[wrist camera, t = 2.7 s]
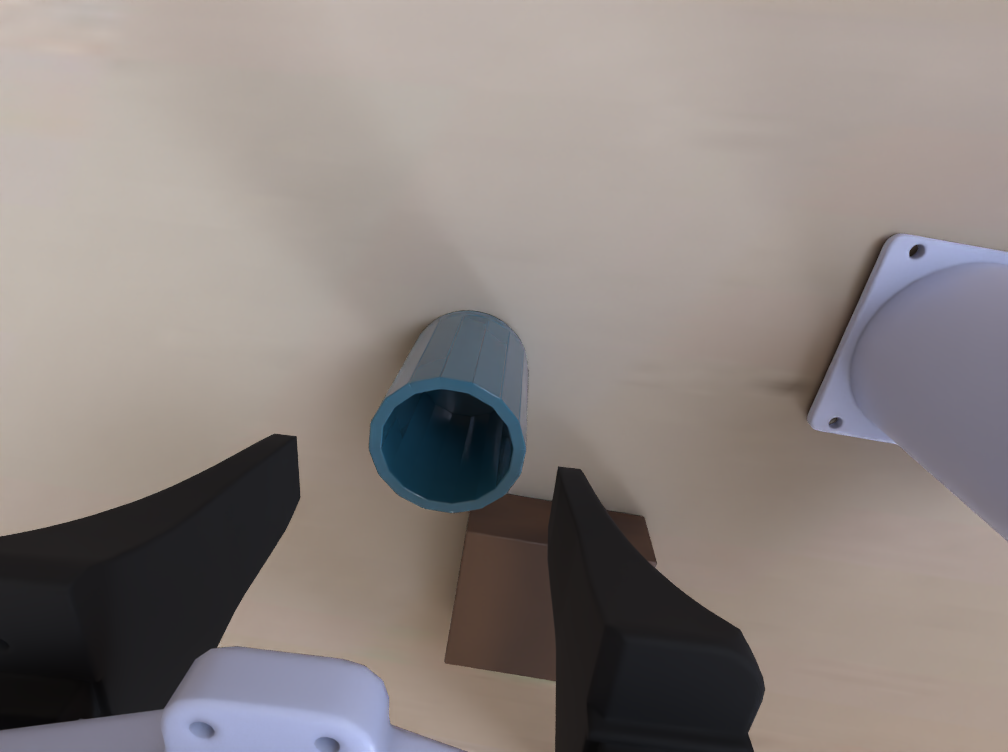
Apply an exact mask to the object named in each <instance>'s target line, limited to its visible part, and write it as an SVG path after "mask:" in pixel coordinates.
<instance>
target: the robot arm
mask: <svg viewBox="0 0 1008 752" xmlns="http://www.w3.org/2000/svg"><path fill="white" fill-rule="evenodd" d="M915 245H918V251H917V252H916V253H915V254H914V255H913V256H911V257H910V256H909V251H910V249H911V248H912V247H913V246H915ZM835 417H838V419H837V420H836V422H834V423H832V424H829V421H830V420H831V419H833V418H835ZM807 421H808V423H809V424H810V425H811V427H812V428H813V429H815V430H818V431H823V432H828V433H834V434H840V435H846V436H852V437H858V438H864V439H869V440H875V441H881V442H887V443H893V444H898V445H899V446H900V447H901V448H902V449H903V450H904V451H906V452H907V453H908V454H909V455H910V456H911V457H912V458H913V459H915V460H916V461H917V462H918V463H919V464H920V465H921V466H923V467H924V468H925V469H926V470H927V471H928V472H929V473H930V474H932V475H933V476H934V477H935V478H936V479H937V480H938V481H940V482H941V483H942V484H943V485H944V486H945V487H946V488H947V489H949V490H950V491H951V492H952V493H953V494H954V495H955V496H957V497H958V498H959V499H960V500H961V501H962V502H963V503H965V504H966V505H967V506H968V507H969V508H970V509H971V510H972V511H974V512H975V513H976V514H977V515H978V516H979V517H980V518H982V519H983V520H984V521H985V522H986V523H987V524H988V525H989V526H991V527H992V528H993V529H994V530H995V531H996V532H997V533H999V534H1000V535H1001V536H1002V537H1003V538H1004V539H1005V540H1006V541H1008V252H1006V251H1001V250H995V249H990V248H984V247H978V246H973V245H967V244H961V243H956V242H950V241H944V240H939V239H933V238H928V237H922V236H916V235H911V234H905V233H898V234H895V235H893V236H891V237H890V238H889V239H888V240H887V241H886V242H885V244H884V246H883V248H882V250H881V252H880V255H879V257H878V259H877V261H876V263H875V266H874V268H873V270H872V272H871V275H870V277H869V279H868V281H867V284H866V286H865V288H864V290H863V293H862V295H861V297H860V299H859V301H858V304H857V306H856V308H855V310H854V313H853V315H852V317H851V319H850V322H849V324H848V326H847V328H846V330H845V333H844V335H843V337H842V339H841V342H840V344H839V346H838V348H837V351H836V353H835V355H834V357H833V359H832V362H831V364H830V366H829V368H828V371H827V373H826V375H825V377H824V380H823V382H822V384H821V386H820V389H819V391H818V393H817V395H816V397H815V400H814V402H813V404H812V406H811V409H810V411H809V413H808V416H807ZM299 500H300V483H299V467H298V451H297V436H290V435H281V434H273V435H271V436H269V437H267V438H265V439H263V440H261V441H259V442H257V443H255V444H253V445H252V446H250V447H248V448H246V449H244V450H242V451H241V452H239V453H237V454H235V455H233V456H231V457H230V458H228V459H226V460H224V461H222V462H220V463H219V464H217V465H215V466H213V467H211V468H209V469H207V470H205V471H203V472H201V473H199V474H197V475H195V476H193V477H191V478H189V479H187V480H185V481H182V482H180V483H178V484H176V485H174V486H172V487H169V488H167V489H165V490H162V491H160V492H158V493H155V494H153V495H150V496H147V497H145V498H142V499H140V500H137V501H134V502H132V503H129V504H126V505H123V506H120V507H117V508H113V509H110V510H107V511H104V512H101V513H98V514H95V515H92V516H88V517H85V518H81V519H77V520H74V521H70V522H66V523H62V524H58V525H54V526H50V527H46V528H41V529H37V530H32V531H27V532H22V533H17V534H12V535H6V536H1V537H0V752H467V751H464V750H461V749H458V748H455V747H453V746H450V745H447V744H444V743H441V742H439V741H436V740H433V739H430V738H427V737H425V736H422V735H419V734H416V733H413V732H411V731H408V730H405V729H402V728H399V727H397V726H394V725H391V724H390V719H389V696H388V693H387V690H386V688H385V685H384V682H383V681H382V679H381V678H380V677H378V676H377V675H376V674H375V673H373V672H372V671H371V670H370V669H368V668H367V667H366V666H365V665H362V664H358V663H355V662H352V661H348V660H345V659H340V658H332V657H323V656H315V655H306V654H298V653H290V652H281V651H273V650H264V649H256V648H247V647H239V646H235V647H222V648H217V646H218V644H219V642H220V640H221V638H222V636H223V634H224V632H225V630H226V628H227V626H228V624H229V622H230V620H231V618H232V616H233V614H234V612H235V610H236V609H237V607H238V605H239V603H240V602H241V600H242V598H243V596H244V595H245V593H246V592H247V590H248V589H249V587H250V585H251V584H252V582H253V581H254V579H255V578H256V576H257V574H258V573H259V571H260V570H261V568H262V567H263V565H264V564H265V562H266V560H267V559H268V557H269V556H270V554H271V553H272V551H273V549H274V548H275V546H276V545H277V543H278V541H279V540H280V538H281V537H282V535H283V533H284V532H285V530H286V528H287V526H288V524H289V522H290V520H291V518H292V516H293V513H294V511H295V509H296V507H297V504H298V502H299ZM547 560H548V571H549V581H550V590H551V600H552V609H553V619H554V628H555V643H556V735H555V752H754V750H753V747H752V744H751V741H750V738H749V735H748V732H749V730H750V727H751V725H752V723H753V721H754V718H755V716H756V714H757V712H758V709H759V707H760V705H761V703H762V700H763V695H764V691H765V687H764V681H763V676H762V674H761V671H760V669H759V666H758V664H757V662H756V659H755V657H754V655H753V653H752V651H751V649H750V647H749V645H748V643H747V641H746V640H745V638H744V636H743V634H742V632H741V630H740V629H738V628H737V627H735V626H733V625H732V624H730V623H729V622H727V621H725V620H724V619H722V618H720V617H719V616H717V615H716V614H714V613H712V612H711V611H709V610H708V609H706V608H705V607H703V606H702V605H700V604H699V603H698V602H696V601H695V600H693V599H692V598H691V597H689V596H688V595H687V594H685V593H684V592H683V591H681V590H680V589H679V588H678V587H676V586H675V585H674V584H673V583H671V582H670V581H669V580H668V579H667V578H666V577H665V576H663V575H662V574H661V573H660V572H659V571H658V570H657V569H656V568H654V567H653V566H652V565H651V564H650V563H649V562H648V561H647V560H646V559H645V558H644V557H643V556H642V555H641V553H640V552H639V551H638V550H637V549H636V548H635V547H634V546H633V545H632V544H631V543H630V542H629V540H628V539H627V538H626V537H625V535H624V534H623V533H622V532H621V530H620V529H619V528H618V526H617V525H616V524H615V522H614V521H613V520H612V518H611V517H610V515H609V514H608V512H607V511H606V509H605V508H604V506H603V505H602V503H601V502H600V500H599V499H598V497H597V495H596V494H595V492H594V491H593V489H592V487H591V486H590V484H589V482H588V480H587V478H586V477H585V475H584V473H583V472H582V470H581V469H575V468H566V467H558V471H557V476H556V482H555V488H554V494H553V500H552V506H551V512H550V518H549V524H548V554H547Z"/></svg>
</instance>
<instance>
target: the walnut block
mask: <svg viewBox="0 0 1008 752" xmlns="http://www.w3.org/2000/svg"><path fill="white" fill-rule="evenodd" d="M551 506H552V501H546V500H540V499H534V498H528V497H522V496H516V495H510V494H505V495H504V496H503V497H501V498H499V499H498V500H496V501H494V502H492V503H490V504H489V505H487V506H485V507H483V508H480V509H477V510H471V511H470V512H469V518H468V524H467V530H466V536H465V541H464V547H463V553H462V559H461V565H460V571H459V577H458V583H457V589H456V595H455V601H454V606H453V612H452V618H451V624H450V630H449V636H448V642H447V648H446V654H445V660H444V662H445V663H446V664H452V665H459V666H465V667H471V668H477V669H484V670H490V671H496V672H502V673H508V674H515V675H521V676H527V677H533V678H539V679H546V680H552V681H556V643H555V628H554V619H553V609H552V600H551V590H550V581H549V571H548V560H547V554H548V524H549V518H550V512H551ZM607 512H608V514H609V515H610V517H611V518H612V520H613V521H614V522H615V524H616V525H617V526H618V528H619V529H620V530H621V532H622V533H623V534H624V535H625V537H626V538H627V539H628V540H629V542H630V543H631V544H632V545H633V546H634V547H635V548H636V549H637V550H638V551H639V552H640V553H641V555H642V556H643V557H644V558H645V559H646V560H647V561H648V562H649V563H650V564H651V565H652V566H653V567H654V568H655V567H656V564H657V561H656V558H655V554H654V550H653V547H652V543H651V539H650V536H649V532H648V528H647V525H646V521H645V518H644V517H642V516H636V515H630V514H624V513H618V512H612V511H607Z"/></svg>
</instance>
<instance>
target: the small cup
mask: <svg viewBox="0 0 1008 752" xmlns="http://www.w3.org/2000/svg"><path fill="white" fill-rule="evenodd" d="M528 380H529V370H528V361H527V355H526V352H525V348H524V346H523V344H522V342H521V340H520V339H519V337H518V336H517V334H516V333H515V332H514V331H513V330H512V329H511V328H510V327H509V326H508V325H507V324H505V323H504V322H503V321H501V320H500V319H498V318H496V317H494V316H491V315H489V314H486V313H482V312H478V311H457V312H452V313H449V314H446V315H443V316H441V317H439V318H437V319H436V320H434V321H433V322H431V323H430V324H429V325H428V326H427V327H426V328H425V329H424V330H423V331H422V333H421V334H420V336H419V337H418V339H417V341H416V342H415V344H414V346H413V347H412V349H411V351H410V353H409V354H408V356H407V358H406V360H405V362H404V363H403V365H402V367H401V369H400V370H399V372H398V374H397V376H396V378H395V379H394V381H393V383H392V385H391V386H390V388H389V390H388V392H387V394H386V395H385V397H384V399H383V401H382V402H381V404H380V406H379V408H378V410H377V411H376V413H375V415H374V417H373V418H372V420H371V423H370V435H369V451H370V454H371V457H372V459H373V462H374V464H375V467H376V469H377V472H378V474H379V476H380V477H381V478H382V479H383V480H384V481H385V482H386V483H387V484H388V485H389V486H390V487H391V488H392V490H393V491H394V492H395V493H396V494H398V495H399V496H400V497H402V498H404V499H406V500H408V501H410V502H412V503H414V504H416V505H418V506H420V507H421V508H424V509H429V510H435V511H441V512H447V513H452V512H453V513H458V512H465V511H471V510H477V509H480V508H483V507H485V506H487V505H489V504H490V503H492V502H494V501H496V500H498V499H499V498H501V497H503V496H504V495H505V494H506V493H507V492H508V491H509V489H510V488H511V487H512V485H513V484H514V483H515V482H516V480H517V479H518V478H519V476H520V474H521V472H522V468H523V463H524V458H525V453H526V442H527V411H528Z"/></svg>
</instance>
